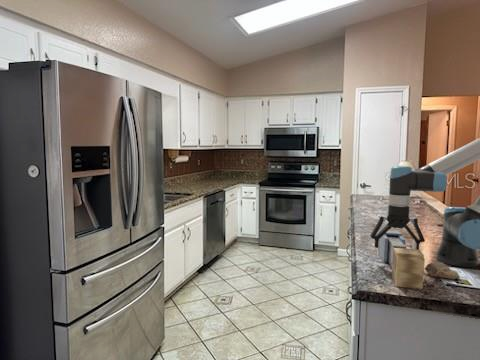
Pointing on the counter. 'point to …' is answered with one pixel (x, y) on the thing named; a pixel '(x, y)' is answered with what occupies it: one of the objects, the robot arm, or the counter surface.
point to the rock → (441, 270)
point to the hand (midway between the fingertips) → (395, 256)
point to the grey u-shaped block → (385, 243)
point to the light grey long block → (393, 246)
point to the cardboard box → (408, 268)
